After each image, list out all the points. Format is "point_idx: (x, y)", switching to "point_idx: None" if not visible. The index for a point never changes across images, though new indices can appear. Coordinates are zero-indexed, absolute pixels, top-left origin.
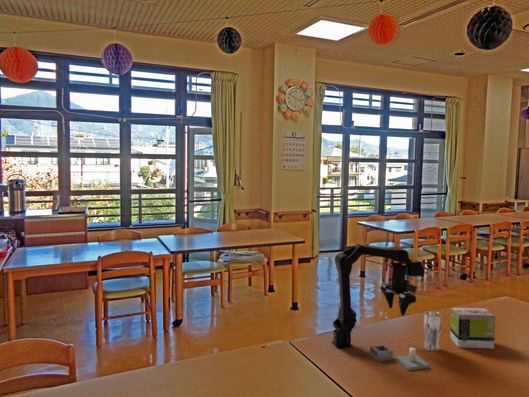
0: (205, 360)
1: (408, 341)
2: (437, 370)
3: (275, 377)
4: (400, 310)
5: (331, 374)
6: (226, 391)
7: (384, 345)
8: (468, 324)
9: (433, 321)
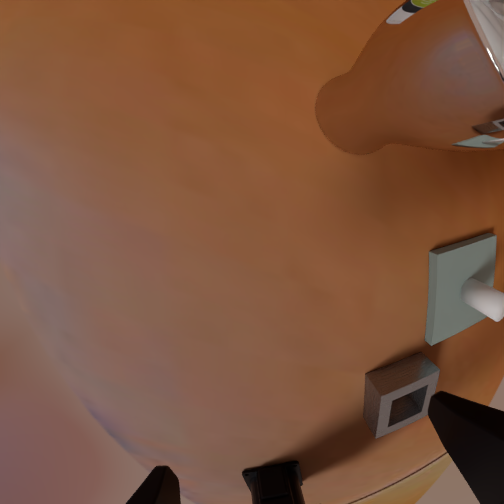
0: None
1: (257, 210)
2: (499, 212)
3: None
4: (463, 461)
5: (415, 468)
6: None
7: (391, 396)
8: None
9: None
